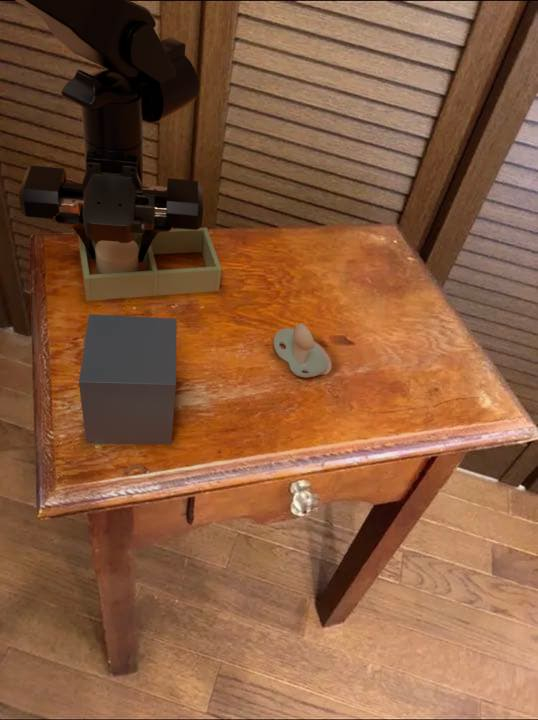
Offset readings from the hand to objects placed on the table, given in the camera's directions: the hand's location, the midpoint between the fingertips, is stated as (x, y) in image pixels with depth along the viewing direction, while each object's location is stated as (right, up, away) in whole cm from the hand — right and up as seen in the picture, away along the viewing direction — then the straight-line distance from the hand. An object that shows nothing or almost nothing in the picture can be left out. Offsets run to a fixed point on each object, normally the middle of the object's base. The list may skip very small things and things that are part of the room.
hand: (117, 258), depth 70 cm
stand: (+4, -17, -10) cm, 21 cm away
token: (0, -1, +1) cm, 1 cm away
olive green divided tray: (+3, -2, +4) cm, 5 cm away
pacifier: (+22, -12, -1) cm, 25 cm away
